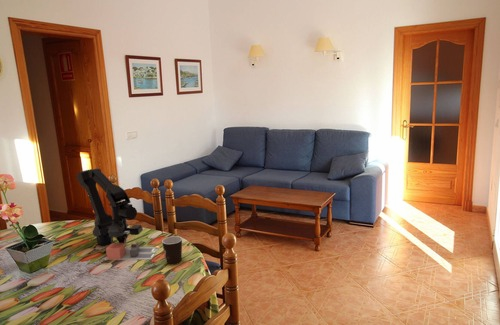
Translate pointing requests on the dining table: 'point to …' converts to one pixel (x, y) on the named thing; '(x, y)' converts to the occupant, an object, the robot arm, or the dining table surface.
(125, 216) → the robot arm
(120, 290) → the dining table surface
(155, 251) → the breaker panel
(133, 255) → the block
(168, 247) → the coffee mug
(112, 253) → the cap
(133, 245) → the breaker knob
